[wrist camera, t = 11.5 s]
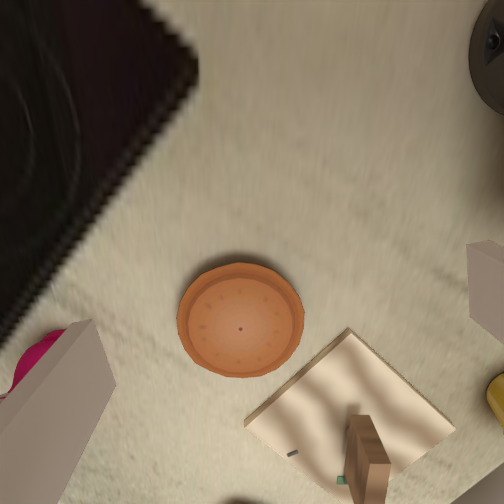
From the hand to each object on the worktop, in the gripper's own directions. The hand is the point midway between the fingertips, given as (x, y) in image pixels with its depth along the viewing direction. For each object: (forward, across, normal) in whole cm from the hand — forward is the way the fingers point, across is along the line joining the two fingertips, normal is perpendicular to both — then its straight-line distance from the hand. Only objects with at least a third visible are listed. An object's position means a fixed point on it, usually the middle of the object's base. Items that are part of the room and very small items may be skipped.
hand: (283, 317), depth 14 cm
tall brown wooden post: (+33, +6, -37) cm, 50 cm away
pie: (+35, -5, -16) cm, 39 cm away
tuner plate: (+35, +6, -36) cm, 50 cm away
